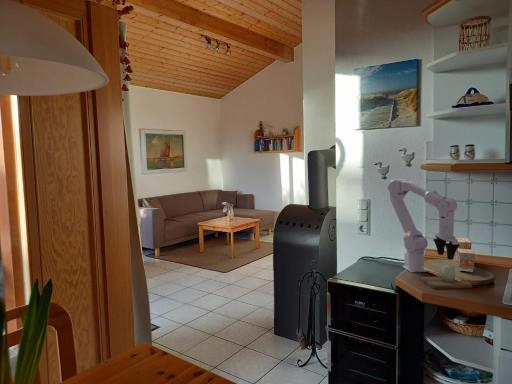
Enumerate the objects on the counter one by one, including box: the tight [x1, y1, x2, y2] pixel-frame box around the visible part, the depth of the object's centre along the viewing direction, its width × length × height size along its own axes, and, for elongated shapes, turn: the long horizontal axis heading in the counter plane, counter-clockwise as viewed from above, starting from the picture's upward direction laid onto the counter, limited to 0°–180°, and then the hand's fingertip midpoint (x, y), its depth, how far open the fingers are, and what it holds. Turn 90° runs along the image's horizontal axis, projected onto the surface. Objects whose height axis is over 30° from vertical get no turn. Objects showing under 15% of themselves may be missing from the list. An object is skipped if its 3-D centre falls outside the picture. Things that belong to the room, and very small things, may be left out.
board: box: [419, 275, 473, 290], centre depth 165 cm, size 12×16×1 cm
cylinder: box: [441, 264, 456, 282], centre depth 164 cm, size 5×5×6 cm
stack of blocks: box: [452, 236, 476, 271], centre depth 188 cm, size 21×6×12 cm, turn 160°
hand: (445, 256), depth 171 cm, fingers open, 7 cm apart
